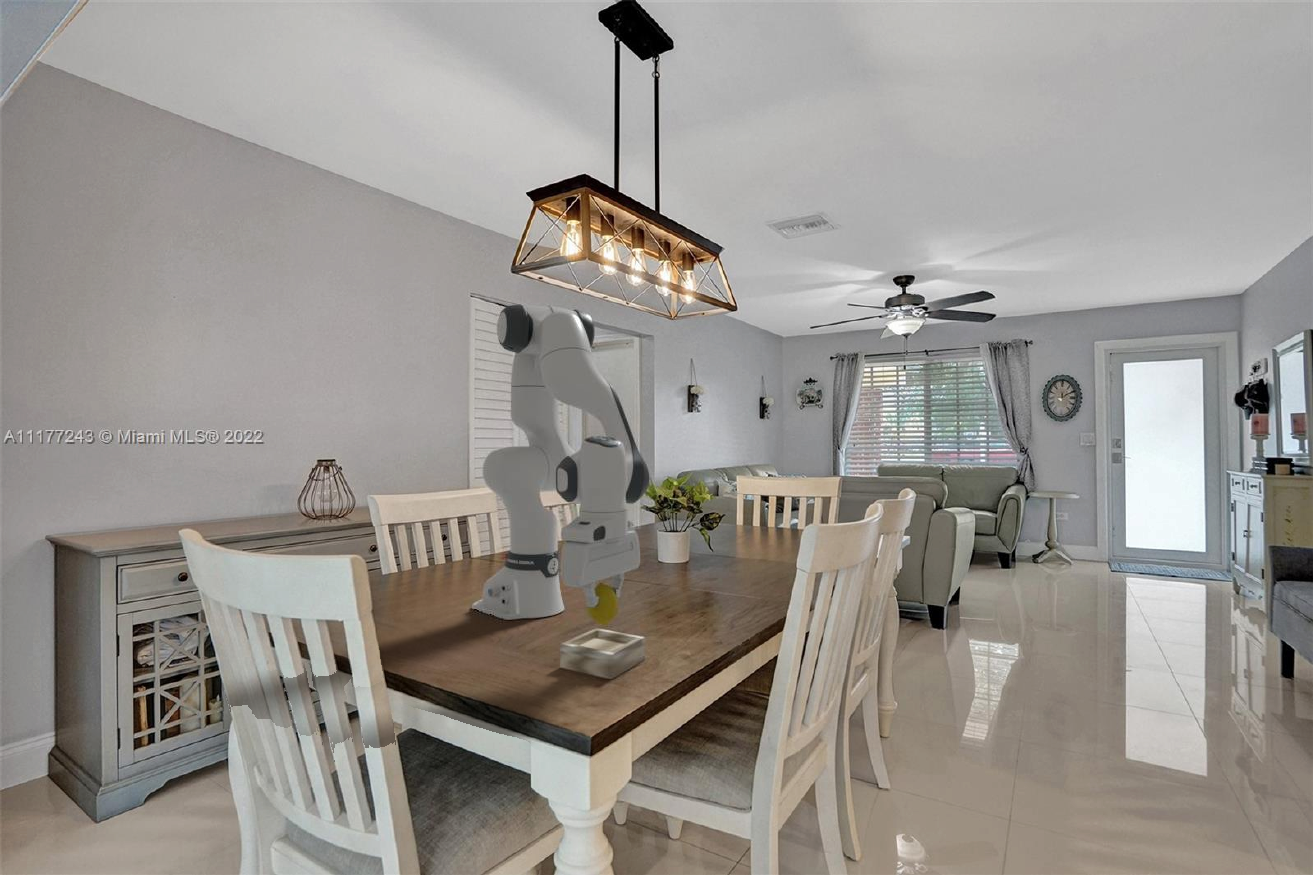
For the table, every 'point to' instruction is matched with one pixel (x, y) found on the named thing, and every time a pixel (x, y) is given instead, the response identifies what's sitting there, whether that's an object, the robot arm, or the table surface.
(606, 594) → the lemon
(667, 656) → the table surface
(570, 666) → the base
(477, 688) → the table surface
